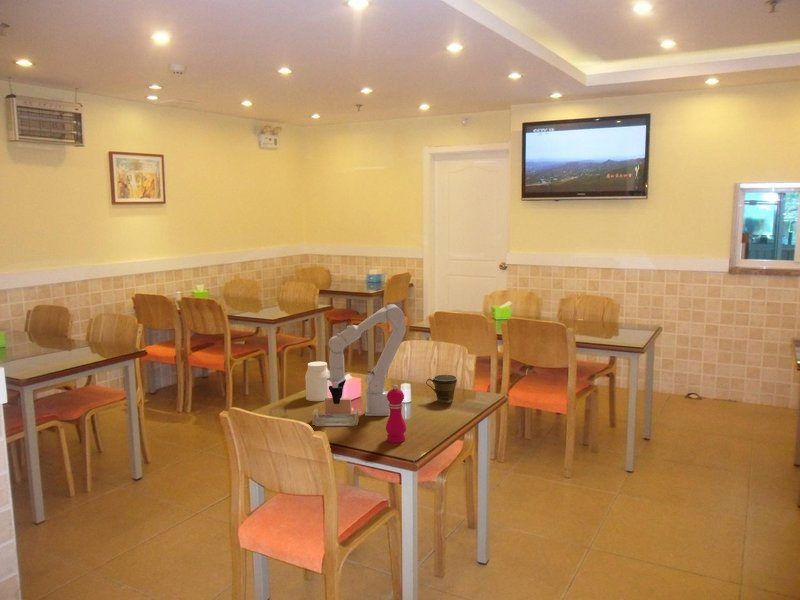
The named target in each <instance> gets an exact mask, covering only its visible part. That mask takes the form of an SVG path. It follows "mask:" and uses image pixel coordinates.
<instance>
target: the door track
mask: <svg viewBox="0 0 800 600" xmlns="http://www.w3.org/2000/svg"><path fill="white" fill-rule="evenodd" d="M359 409H360V408H359V407H358V408H357V407H356V408H355V412H354V413H351V414H325V413H318V408H314V409H313V411H312V413H311V417H312V418H311V422H312V423H311V425H315V426H314V427H355V426H358V425H359V420H360V410H359Z"/></svg>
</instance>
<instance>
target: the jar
mask: <svg viewBox="0 0 800 600" xmlns="http://www.w3.org/2000/svg"><path fill="white" fill-rule="evenodd" d="M328 377H330V369H329V368H328V363H327V362H326V361H319V360H318V361H311V362H308V363H307V370H306V372H305V376H304V378H305V379H304V380H305V400H306V401H310V402H323V401H324V402H325V398H330V396H328V387H329V383H330V384H331V382H330V381H328V380H327V378H328Z"/></svg>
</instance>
